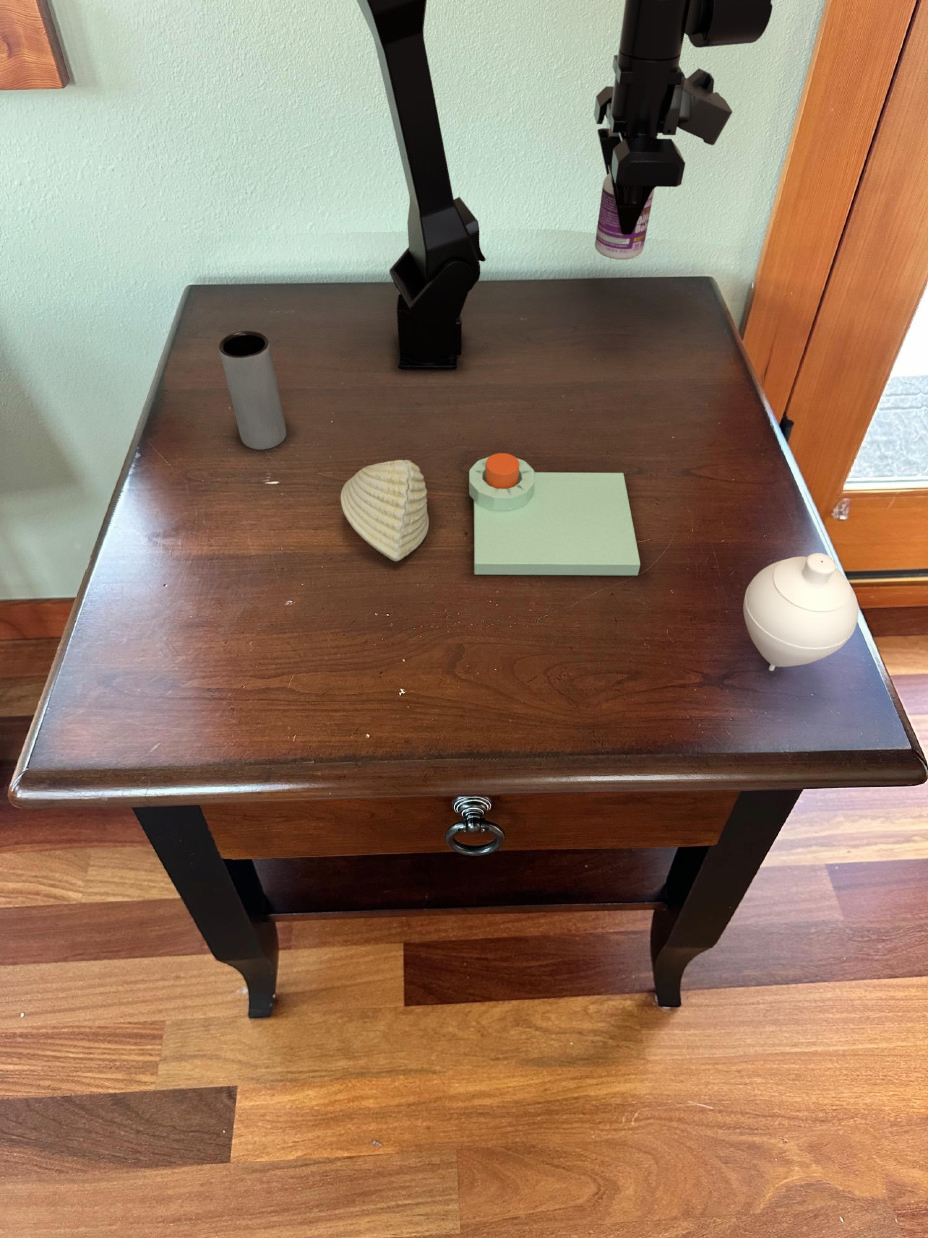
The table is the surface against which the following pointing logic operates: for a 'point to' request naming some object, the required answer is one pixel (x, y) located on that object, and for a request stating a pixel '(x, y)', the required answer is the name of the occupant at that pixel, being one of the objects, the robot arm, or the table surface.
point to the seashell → (388, 507)
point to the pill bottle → (609, 230)
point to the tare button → (502, 471)
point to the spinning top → (800, 610)
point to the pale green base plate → (553, 524)
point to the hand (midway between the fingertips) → (622, 221)
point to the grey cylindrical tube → (253, 389)
